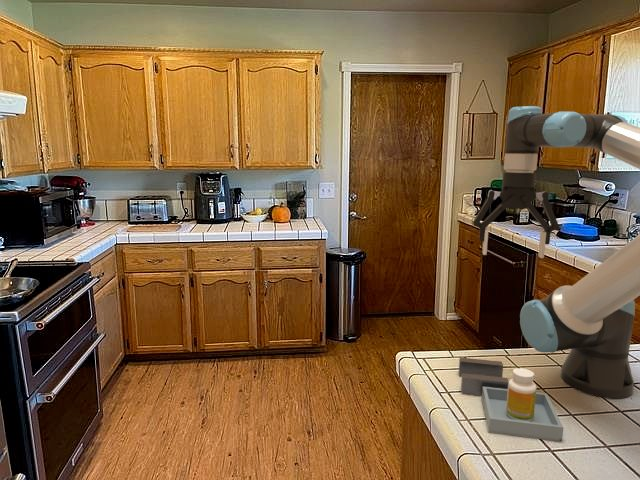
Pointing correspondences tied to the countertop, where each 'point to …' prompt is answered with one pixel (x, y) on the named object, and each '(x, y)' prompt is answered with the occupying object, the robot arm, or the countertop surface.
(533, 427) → the grey tray
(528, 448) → the countertop surface
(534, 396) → the supplement bottle
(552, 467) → the countertop surface
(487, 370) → the steel jaws
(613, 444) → the countertop surface
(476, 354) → the countertop surface
